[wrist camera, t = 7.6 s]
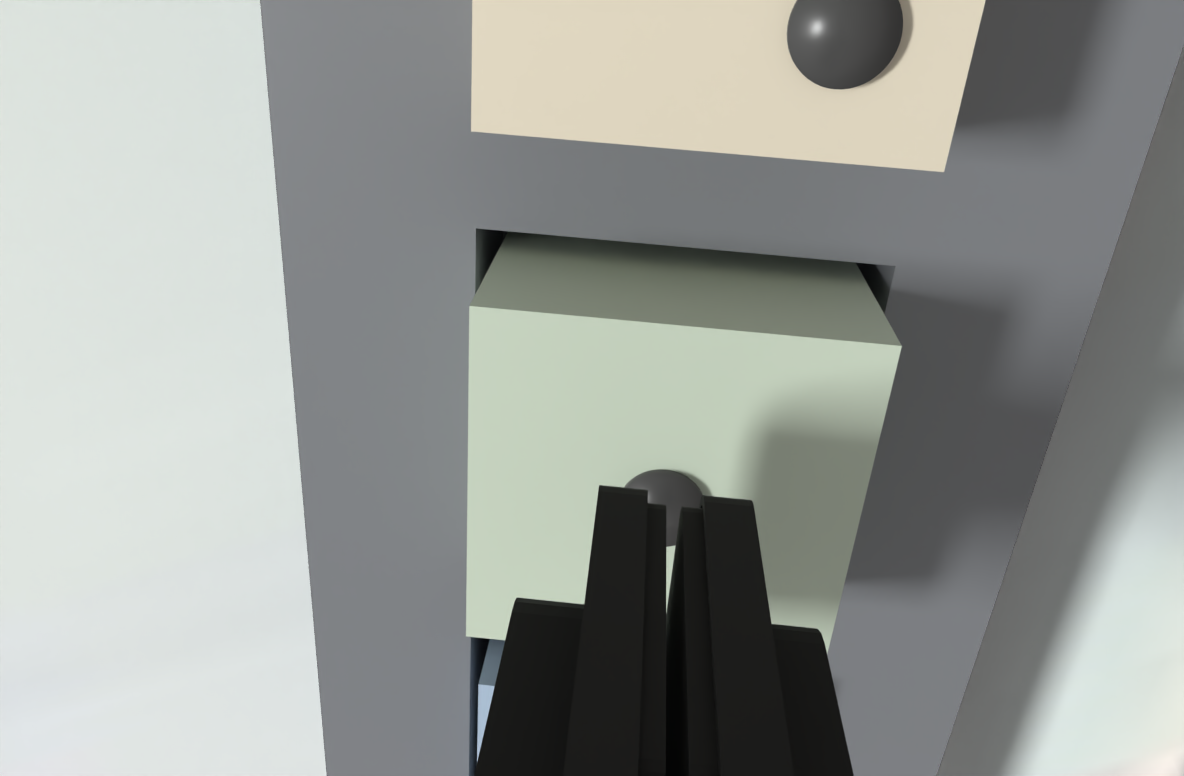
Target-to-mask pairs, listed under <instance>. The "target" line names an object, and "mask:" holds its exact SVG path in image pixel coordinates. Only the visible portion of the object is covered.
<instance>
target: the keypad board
mask: <svg viewBox="0 0 1184 776" xmlns="http://www.w3.org/2000/svg"><path fill="white" fill-rule="evenodd" d="M260 4H261V16H262V28H263V39H264V51H265V62H266V74H267V86H268V97H269V109H270V121H271V132H272V144H273V156H274V167H275V179H276V190H277V202H278V214H279V225H280V237H281V249H282V260H283V272H284V284H285V295H286V307H287V318H288V330H289V342H290V353H291V365H292V377H293V388H294V400H295V412H296V423H297V435H298V447H299V458H300V470H301V481H302V493H303V505H304V516H305V528H306V540H307V551H308V563H309V575H310V586H311V598H312V609H313V621H314V633H315V644H316V656H317V668H318V679H319V691H320V703H321V714H322V726H323V737H324V749H325V761H326V772H327V776H474V774H475V770H476V765H477V737H478V684H479V680H480V676H481V672H482V668H483V664H484V660H485V656H486V652H487V648H488V644H489V640H490V639H487V638H477V637H468V636H466V584H467V484H468V384H469V306H470V304H471V302H472V300H473V298H474V296H475V294H476V292H477V290H478V288H479V286H480V284H481V283H482V281H483V279H484V277H485V275H486V273H487V271H488V269H489V267H490V265H491V263H492V261H493V260H494V258H495V256H496V254H497V252H498V250H499V248H500V246H501V244H502V242H503V240H504V239H505V237H506V235H507V233H508V231H511V232H522V233H533V234H544V235H555V236H566V237H577V238H589V239H600V240H611V241H622V242H633V243H644V244H655V245H667V246H678V247H689V248H700V249H711V250H722V251H733V252H745V253H756V254H767V255H778V256H789V257H800V258H811V259H823V260H834V261H845V262H856V264H857V266H858V268H859V270H860V271H861V273H862V275H863V277H864V279H865V280H866V282H867V284H868V286H869V288H870V289H871V291H872V293H873V295H874V297H875V298H876V300H877V302H878V304H879V306H880V307H881V309H882V311H883V313H884V315H885V316H886V318H887V320H888V322H889V324H890V325H891V327H892V329H893V331H894V333H895V334H896V336H897V338H898V340H899V342H900V344H901V345H902V348H901V352H900V356H899V360H898V364H897V368H896V373H895V377H894V381H893V385H892V389H891V393H890V397H889V401H888V406H887V410H886V414H885V418H884V422H883V426H882V430H881V434H880V439H879V443H878V447H877V451H876V455H875V459H874V463H873V468H872V472H871V476H870V480H869V484H868V488H867V492H866V496H865V501H864V505H863V509H862V513H861V517H860V521H859V525H858V529H857V534H856V538H855V542H854V546H853V550H852V554H851V558H850V563H849V567H848V571H847V575H846V579H845V583H844V587H843V591H842V596H841V600H840V604H839V608H838V612H837V616H836V620H835V624H834V629H833V633H832V637H831V641H830V645H829V649H828V653H827V656H828V660H829V665H830V670H831V674H832V679H833V683H834V688H835V692H836V697H837V701H838V706H839V710H840V715H841V720H842V724H843V729H844V733H845V738H846V742H847V747H848V751H849V756H850V760H851V765H852V770H853V774H854V776H937V773H938V770H939V767H940V764H941V761H942V758H943V755H944V752H945V749H946V746H947V743H948V740H949V737H950V734H951V732H952V729H953V726H954V723H955V720H956V717H957V714H958V711H959V708H960V705H961V702H962V699H963V696H964V693H965V690H966V687H967V684H968V681H969V678H970V675H971V672H972V670H973V667H974V664H975V661H976V658H977V655H978V652H979V649H980V646H981V643H982V640H983V637H984V634H985V631H986V628H987V625H988V622H989V619H990V616H991V613H992V610H993V607H994V605H995V602H996V599H997V596H998V593H999V590H1000V587H1001V584H1002V581H1003V578H1004V575H1005V572H1006V569H1007V566H1008V563H1009V560H1010V557H1011V554H1012V551H1013V548H1014V545H1015V543H1016V540H1017V537H1018V534H1019V531H1020V528H1021V525H1022V522H1023V519H1024V516H1025V513H1026V510H1027V507H1028V504H1029V501H1030V498H1031V495H1032V492H1033V489H1034V486H1035V483H1036V481H1037V478H1038V475H1039V472H1040V469H1041V466H1042V463H1043V460H1044V457H1045V454H1046V451H1047V448H1048V445H1049V442H1050V439H1051V436H1052V433H1053V430H1054V427H1055V424H1056V421H1057V418H1058V416H1059V413H1060V410H1061V407H1062V404H1063V401H1064V398H1065V395H1066V392H1067V389H1068V386H1069V383H1070V380H1071V377H1072V374H1073V371H1074V368H1075V365H1076V362H1077V359H1078V356H1079V354H1080V351H1081V348H1082V345H1083V342H1084V339H1085V336H1086V333H1087V330H1088V327H1089V324H1090V321H1091V318H1092V315H1093V312H1094V309H1095V306H1096V303H1097V300H1098V297H1099V294H1100V292H1101V289H1102V286H1103V283H1104V280H1105V277H1106V274H1107V271H1108V268H1109V265H1110V262H1111V259H1112V256H1113V253H1114V250H1115V247H1116V244H1117V241H1118V238H1119V235H1120V232H1121V229H1122V227H1123V224H1124V221H1125V218H1126V215H1127V212H1128V209H1129V206H1130V203H1131V200H1132V197H1133V194H1134V191H1135V188H1136V185H1137V182H1138V179H1139V176H1140V173H1141V170H1142V167H1143V165H1144V162H1145V159H1146V156H1147V153H1148V150H1149V147H1150V144H1151V141H1152V138H1153V135H1154V132H1155V129H1156V126H1157V123H1158V120H1159V117H1160V114H1161V111H1162V108H1163V105H1164V103H1165V100H1166V97H1167V94H1168V91H1169V88H1170V85H1171V82H1172V79H1173V76H1174V73H1175V70H1176V67H1177V64H1178V61H1179V58H1180V55H1181V52H1182V49H1183V46H1184V0H986V1H985V5H984V9H983V13H982V17H981V21H980V26H979V30H978V34H977V38H976V42H975V46H974V50H973V54H972V59H971V63H970V67H969V71H968V75H967V79H966V83H965V88H964V92H963V96H962V100H961V104H960V108H959V112H958V116H957V121H956V125H955V129H954V133H953V137H952V141H951V145H950V149H949V154H948V158H947V162H946V166H945V170H944V172H936V171H925V170H913V169H902V168H890V167H878V166H867V165H855V164H843V163H832V162H820V161H809V160H797V159H785V158H774V157H762V156H751V155H739V154H727V153H716V152H704V151H693V150H681V149H669V148H658V147H646V146H634V145H623V144H611V143H600V142H588V141H576V140H565V139H553V138H542V137H530V136H518V135H507V134H495V133H484V132H472V131H471V85H472V0H260Z"/></svg>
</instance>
